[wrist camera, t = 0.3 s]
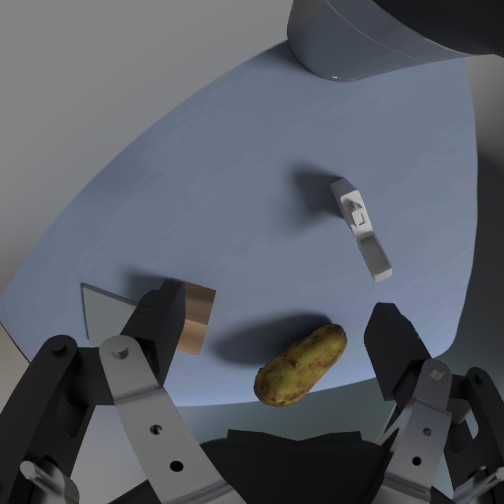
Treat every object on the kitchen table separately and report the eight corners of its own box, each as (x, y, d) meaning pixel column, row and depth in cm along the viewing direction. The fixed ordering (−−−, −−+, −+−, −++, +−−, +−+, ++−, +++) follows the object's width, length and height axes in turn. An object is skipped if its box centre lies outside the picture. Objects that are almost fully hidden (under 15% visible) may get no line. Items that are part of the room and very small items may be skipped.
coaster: (85, 283, 33) (82, 286, 33) (165, 311, 35) (163, 315, 34) (91, 340, 39) (89, 344, 38) (159, 365, 40) (157, 369, 39)
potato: (351, 350, 36) (363, 395, 29) (266, 374, 39) (265, 419, 32) (338, 309, 33) (352, 358, 26) (242, 338, 36) (236, 388, 29)
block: (174, 278, 32) (159, 310, 27) (216, 290, 33) (207, 325, 27) (169, 309, 34) (155, 342, 29) (207, 320, 35) (199, 355, 30)
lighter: (329, 184, 26) (351, 213, 19) (345, 177, 26) (372, 203, 19) (353, 243, 29) (377, 287, 22) (367, 237, 28) (395, 278, 21)
